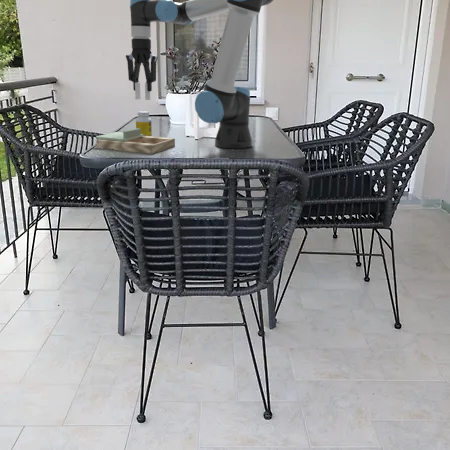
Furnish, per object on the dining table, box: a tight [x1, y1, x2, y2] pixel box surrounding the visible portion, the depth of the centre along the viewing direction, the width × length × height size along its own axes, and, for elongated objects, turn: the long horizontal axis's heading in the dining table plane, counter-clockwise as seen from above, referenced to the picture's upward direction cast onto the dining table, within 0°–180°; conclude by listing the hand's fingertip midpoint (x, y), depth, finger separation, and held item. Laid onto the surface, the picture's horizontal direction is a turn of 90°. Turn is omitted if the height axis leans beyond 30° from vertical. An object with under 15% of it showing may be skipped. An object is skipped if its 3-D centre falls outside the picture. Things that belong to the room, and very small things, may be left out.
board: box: [95, 135, 176, 155], centre depth 185 cm, size 24×18×3 cm
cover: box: [95, 127, 143, 141], centre depth 186 cm, size 13×14×3 cm
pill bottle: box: [135, 110, 153, 137], centre depth 199 cm, size 6×6×12 cm
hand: (142, 99), depth 196 cm, fingers open, 4 cm apart
